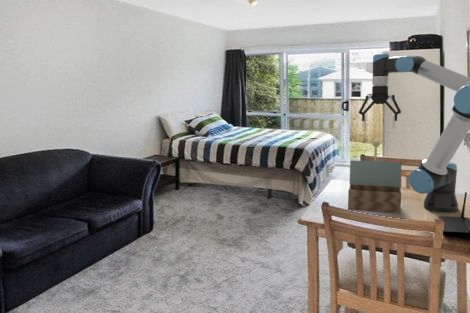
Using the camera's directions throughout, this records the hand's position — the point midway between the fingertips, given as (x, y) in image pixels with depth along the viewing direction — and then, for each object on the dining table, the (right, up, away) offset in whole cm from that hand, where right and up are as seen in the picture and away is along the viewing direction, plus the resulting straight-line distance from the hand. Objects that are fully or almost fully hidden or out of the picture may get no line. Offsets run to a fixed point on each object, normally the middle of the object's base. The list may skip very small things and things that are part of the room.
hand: (379, 127), depth 205 cm
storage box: (-4, -40, -4) cm, 41 cm away
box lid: (-2, -18, -2) cm, 18 cm away
